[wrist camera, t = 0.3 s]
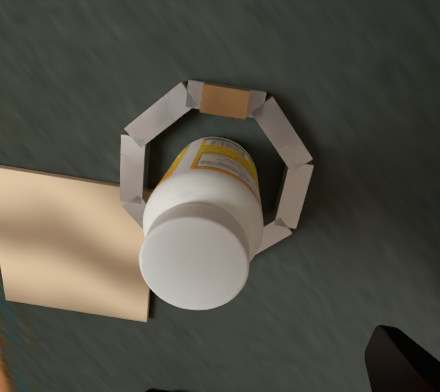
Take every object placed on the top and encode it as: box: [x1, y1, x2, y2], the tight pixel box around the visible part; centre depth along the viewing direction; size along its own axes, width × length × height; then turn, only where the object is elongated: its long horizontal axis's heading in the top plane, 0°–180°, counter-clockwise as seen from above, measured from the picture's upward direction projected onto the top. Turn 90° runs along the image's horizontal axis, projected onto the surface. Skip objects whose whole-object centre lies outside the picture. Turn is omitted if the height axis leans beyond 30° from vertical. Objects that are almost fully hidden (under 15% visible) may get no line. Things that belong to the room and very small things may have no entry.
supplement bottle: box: [139, 137, 263, 310], centre depth 16 cm, size 5×5×10 cm
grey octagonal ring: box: [120, 79, 314, 255], centre depth 19 cm, size 11×11×2 cm
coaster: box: [0, 165, 154, 322], centre depth 22 cm, size 11×11×1 cm
